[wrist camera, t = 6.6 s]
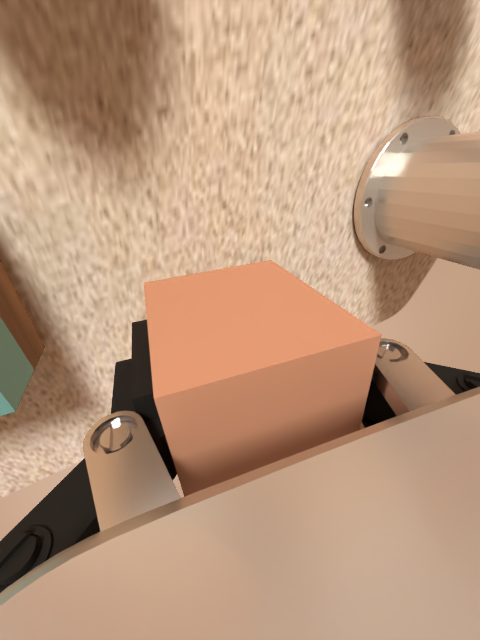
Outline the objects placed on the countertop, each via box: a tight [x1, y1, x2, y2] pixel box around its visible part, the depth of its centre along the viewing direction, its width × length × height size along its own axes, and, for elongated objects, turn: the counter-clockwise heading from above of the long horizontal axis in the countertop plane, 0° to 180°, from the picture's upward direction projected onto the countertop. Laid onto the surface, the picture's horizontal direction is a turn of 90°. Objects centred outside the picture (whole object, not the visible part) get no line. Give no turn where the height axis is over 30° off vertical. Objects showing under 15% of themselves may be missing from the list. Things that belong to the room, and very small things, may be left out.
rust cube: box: [144, 260, 381, 497], centre depth 9 cm, size 5×5×6 cm
